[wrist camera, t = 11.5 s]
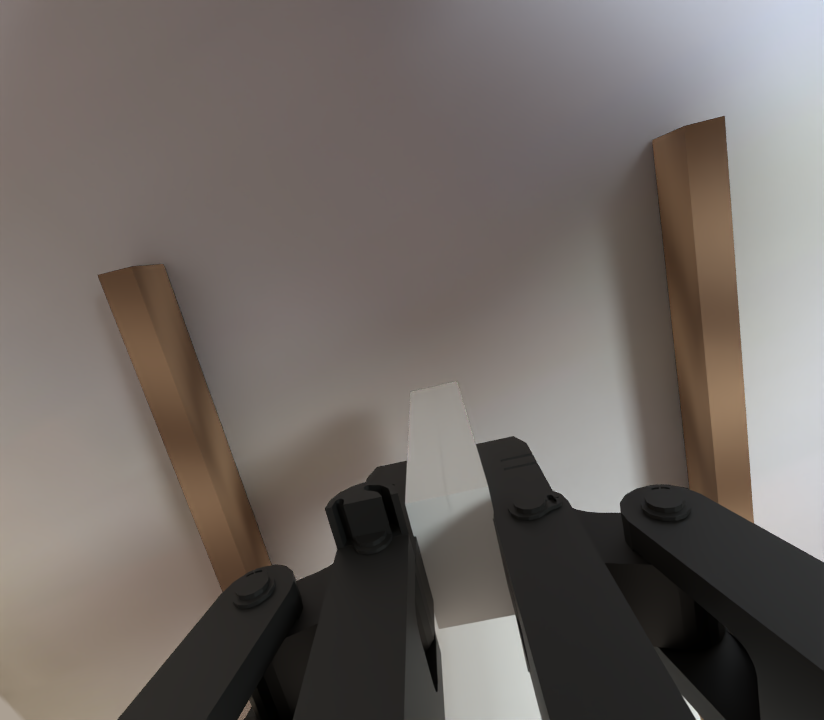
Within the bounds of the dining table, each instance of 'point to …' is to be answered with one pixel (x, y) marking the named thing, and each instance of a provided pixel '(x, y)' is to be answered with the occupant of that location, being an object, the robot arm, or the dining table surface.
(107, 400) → the dining table surface
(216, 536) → the guide lane
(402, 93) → the dining table surface
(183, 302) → the dining table surface
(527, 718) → the mug
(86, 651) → the dining table surface
